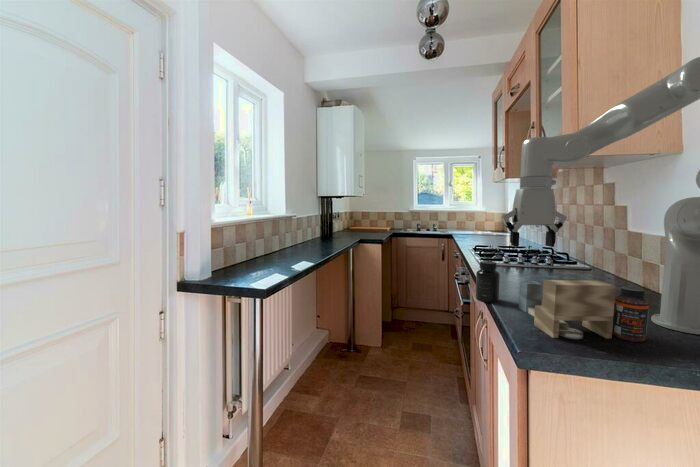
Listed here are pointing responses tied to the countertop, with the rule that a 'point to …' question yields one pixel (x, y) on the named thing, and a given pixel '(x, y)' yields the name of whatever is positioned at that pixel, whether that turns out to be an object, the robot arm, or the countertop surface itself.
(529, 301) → the grey rectangular block
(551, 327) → the oak step stool
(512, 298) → the countertop surface
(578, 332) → the steel token
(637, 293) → the supplement bottle
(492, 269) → the supplement bottle
